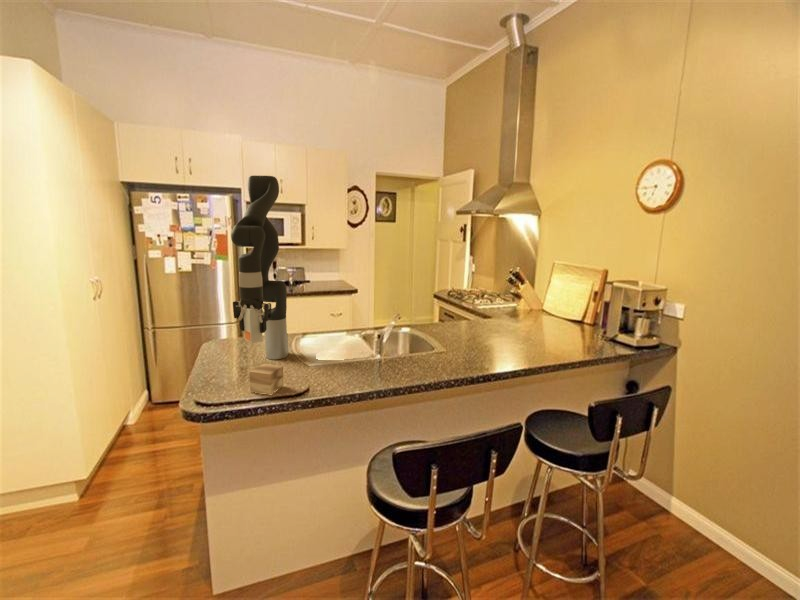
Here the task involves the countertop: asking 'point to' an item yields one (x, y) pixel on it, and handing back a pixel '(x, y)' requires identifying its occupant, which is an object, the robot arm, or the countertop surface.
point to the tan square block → (266, 374)
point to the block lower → (266, 387)
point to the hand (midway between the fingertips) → (253, 331)
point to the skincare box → (252, 326)
